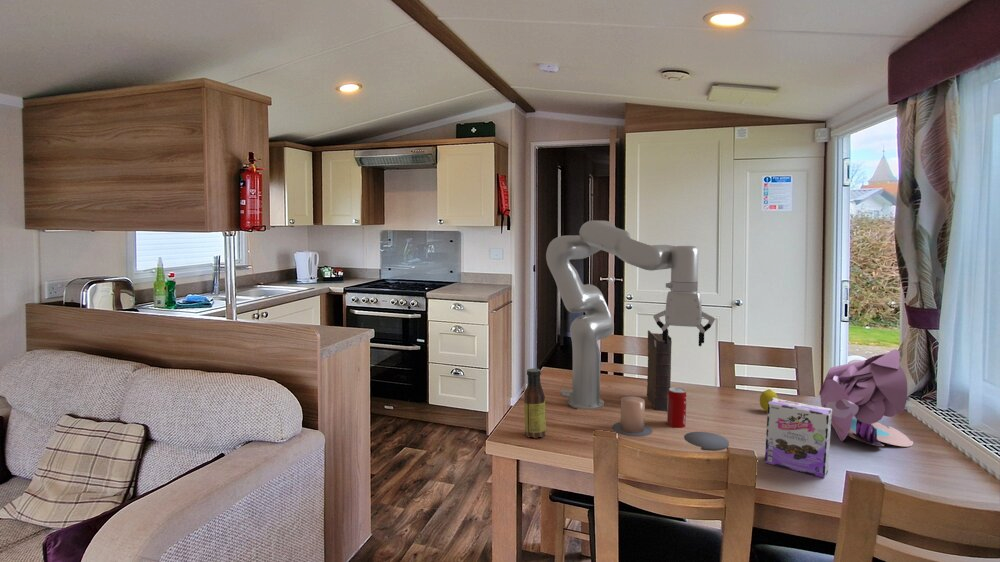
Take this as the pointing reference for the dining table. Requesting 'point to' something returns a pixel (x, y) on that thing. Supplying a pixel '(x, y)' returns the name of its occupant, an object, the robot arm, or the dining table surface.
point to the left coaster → (646, 432)
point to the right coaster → (707, 440)
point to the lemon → (767, 398)
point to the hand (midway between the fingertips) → (683, 344)
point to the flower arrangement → (867, 398)
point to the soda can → (676, 407)
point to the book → (658, 370)
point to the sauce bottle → (534, 405)
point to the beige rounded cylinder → (632, 414)
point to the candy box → (798, 436)
